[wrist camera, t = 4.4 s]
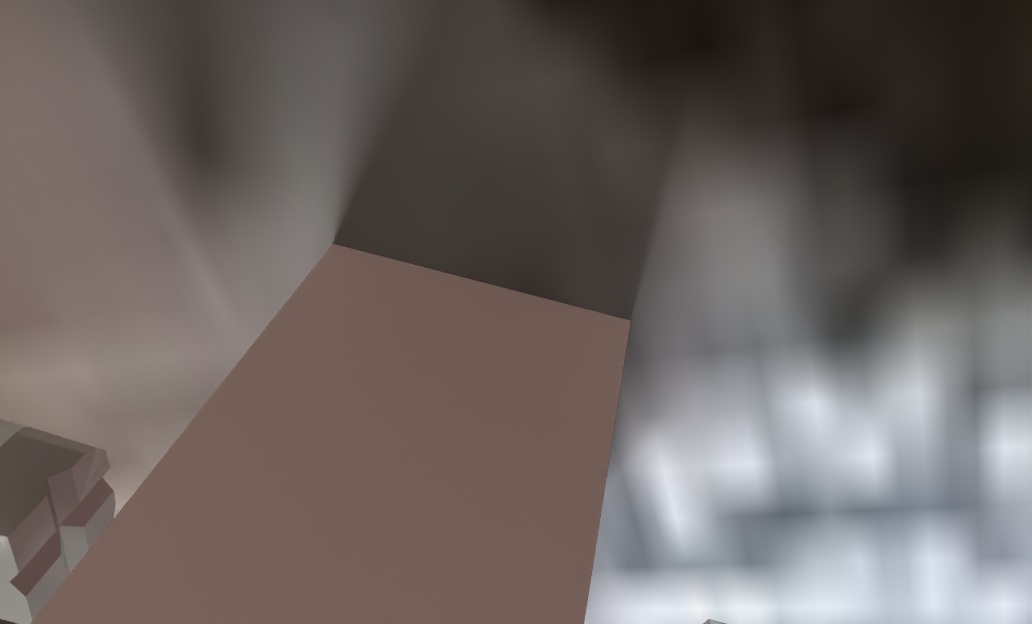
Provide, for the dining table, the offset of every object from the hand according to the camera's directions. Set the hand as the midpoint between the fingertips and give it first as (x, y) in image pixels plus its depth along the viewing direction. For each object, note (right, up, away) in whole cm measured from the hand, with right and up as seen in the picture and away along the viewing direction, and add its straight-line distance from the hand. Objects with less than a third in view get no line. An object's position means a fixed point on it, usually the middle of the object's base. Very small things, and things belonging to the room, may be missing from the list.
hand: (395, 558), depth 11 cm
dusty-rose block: (+1, +2, +3) cm, 3 cm away
